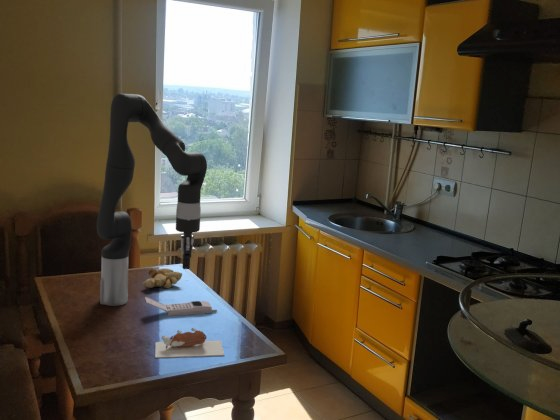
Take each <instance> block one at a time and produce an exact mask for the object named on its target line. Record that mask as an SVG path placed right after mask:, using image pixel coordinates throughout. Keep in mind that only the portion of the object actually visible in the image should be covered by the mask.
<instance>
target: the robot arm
mask: <svg viewBox="0 0 560 420" xmlns="http://www.w3.org/2000/svg"><path fill="white" fill-rule="evenodd" d="M109 118H110V119H109V121H110V122H109V124H110V125H109V141H108V151H107V158H106V164H105V165H106V166H105V171H104V183H103V190H102V195H101V196H102V197H101V201H100V204H99V210H98V214H97V217H96V218H97V219H96V233H97V234H98V236H99V238H101V239H102V240H111V239H112V240H111V241H110V243H108V244H107V245H105V246H103V248H102V249H101V270H100V271H101V272H100V273H101V277H100V305H105V306H109V307H110V306H113V307H116V306H118V307H119V306H123V305H125V304H127V303H128V300H129V299H128V297H129V291H128V290H129V252H130V250H131V249H130V248H131V243H132V241H131V239H132V220H131V219H132V218H131V217H130V214H129V213H128V212H127V211H124V210H123V211H121V210H120V211H117V207H118V203H119V201H120V199H121V198H122V196H123V195H124V194H125V192H126V191H127V190H128V189H129V186H130V185H131V183H132V182H133V179H134V174H135V166H136V161H135V160H136V159H135V156H134V153H133V151H132V148H131V146H130V143H129V141H128V127H129V123H139V124H141V125H142V126H144V127H146V128H147V129H148V131H149V133H150V138H151V141H152V143H153V145H154V146H155V147H156V148H157V150H159V151H160V152H161V153H162V154H164V156H165V157H166V158H167V160H168V162H169V163H170V166H171V167H172V169H173V171H175V173H177V174H178V175H180V176H182V177H183V176H184V177H187V178H186V179H185V180H184V181H183V182H181V183H180V184H179V185H178V187H177V202H176V203H177V204H176V208H175V210H176V212H175V214H176V215H175V230H176V231H177V232H179V233H183V234H181V235H180V242H181V252H182V254H181V255H182V256H181V257H182V269H183V270H189V269H190V267H191V264H190V263H191V259H192V258H191V257H192V252H193V248H194V247H193V246H194V243H195V242H194V241H195V238H194V235H193V233H197V232H199V231H200V227H201V213H202V211H201V208H202V207H201V197H202V194H201V192H202V191H201V190H202V187H203V184H204V181H205V178H206V174H207V168H208V162H207V159H206V156H205V155H204V154H203V153H202V152H198V151H197V152H194V151H193V152H186V145H185V142H183V140H182V139H181V138H180V137H179V136H178V135H176V134H175V132H173V131H172V130H171V128H169V127H168V125H166V124H165V123H164V121H163V120H162V118H160V116H159V115H158V113H157V112H156V110H154V108H153V107H152V105H151V104H150V103H149V101H148V100H147V99H146V98H145V97H144V96H143V95H141V94H137V93H136V94H135V93H117V94H115V95H114V97H113V98H112V100H111V105H110V117H109Z"/></svg>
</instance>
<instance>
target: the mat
mask: <svg viewBox="0 0 560 420" xmlns="http://www.w3.org/2000/svg"><path fill="white" fill-rule="evenodd" d="M154 351H155V354H154V356H155V357H154V358H155V359H168V358H191V357H192V358H198V357H223V356H224V357H225V352H224V348H223V343H222V340H221V339H219V340H205V342H204V343H202V344H198V345H193V346H189V347H172V346H170V345H169V346H168V347H167V349H166V344H164V341H156V342H155V350H154Z"/></svg>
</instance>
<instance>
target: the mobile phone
mask: <svg viewBox="0 0 560 420" xmlns="http://www.w3.org/2000/svg"><path fill="white" fill-rule="evenodd" d="M144 302H145V304H147V305H150V306H153V307H155V308H156V309H157V308H158V310H159V309H160V310H162V311H164V312H166V314H167V315H168V317H173V316H174V317H176V316H190V315H203V314H204V315H205V314H207V313H217V312H218V310H217V309H213V307H212V305H211V304H210V302H209V301H205V300H195V301H193V300H191V301H190V302H182V303H169V304H168V303H167V304H163V303H162V302H160V301H157V300H155V299H152V298H150V297H148V296H145V297H144Z"/></svg>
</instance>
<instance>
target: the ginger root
mask: <svg viewBox="0 0 560 420" xmlns="http://www.w3.org/2000/svg"><path fill="white" fill-rule="evenodd" d="M147 273H148V275H149V277H150V278H148V279H145V281H144V282H143V283H142V285H143V286H144V287H145V288H148V289H152V288H156V287H160V288H161V287H163V288H166V289H170V288H171V287H172V286H173V285H177V284H178V282H179V281H180V280H181V279H182V277H183V273H182V272H179V271H174V270H173V269H171V268H159V269H156V268H153V267H152V268H151V267H150V268H149V269H148V271H147Z"/></svg>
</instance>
